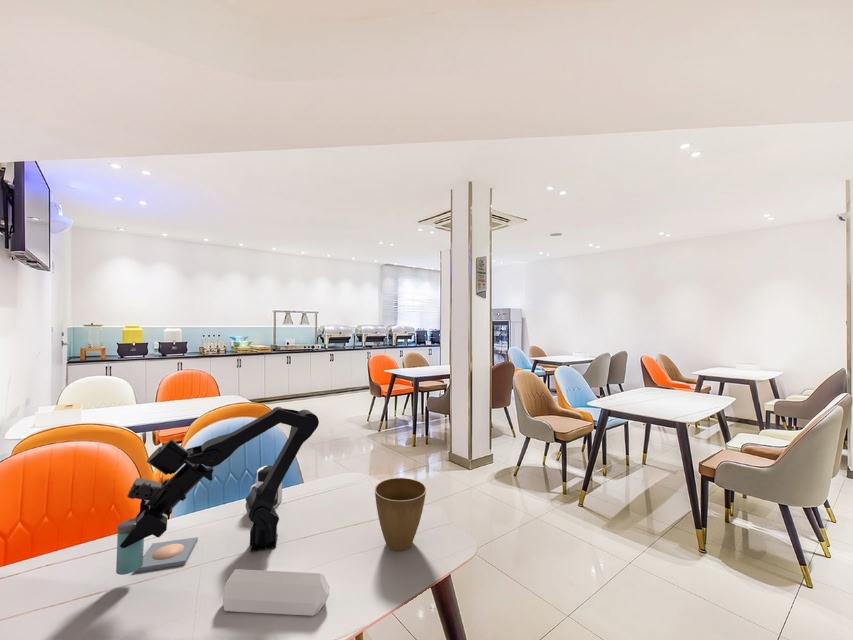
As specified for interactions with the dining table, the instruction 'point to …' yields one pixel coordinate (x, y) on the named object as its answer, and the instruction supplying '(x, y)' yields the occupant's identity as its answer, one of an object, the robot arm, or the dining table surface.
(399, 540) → the plant pot
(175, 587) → the dining table surface
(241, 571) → the white hexagonal prism
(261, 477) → the container
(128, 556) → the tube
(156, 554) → the card
